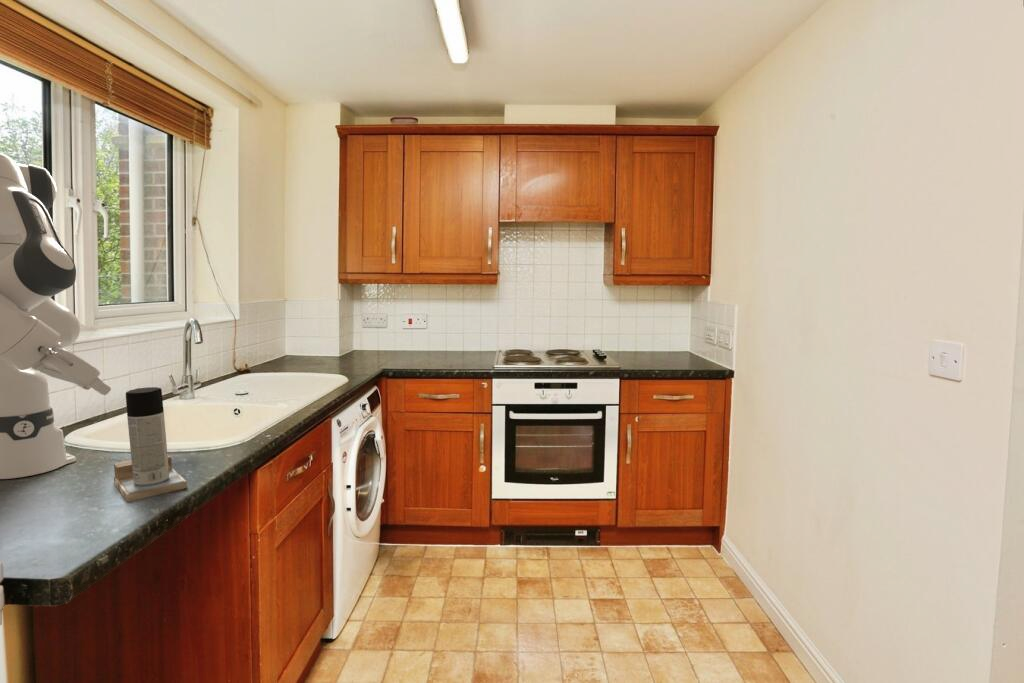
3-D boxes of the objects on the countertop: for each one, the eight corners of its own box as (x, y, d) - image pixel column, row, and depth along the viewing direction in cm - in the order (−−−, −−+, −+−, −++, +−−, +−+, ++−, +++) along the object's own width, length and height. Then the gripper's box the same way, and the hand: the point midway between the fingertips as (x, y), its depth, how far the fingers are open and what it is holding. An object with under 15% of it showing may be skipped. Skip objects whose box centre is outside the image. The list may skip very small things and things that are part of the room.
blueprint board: (114, 483, 131) (112, 463, 131) (169, 471, 139) (168, 452, 138) (127, 501, 120) (125, 480, 120) (187, 487, 128) (185, 467, 127)
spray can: (175, 475, 131) (168, 386, 128) (159, 486, 124) (150, 392, 122) (145, 476, 130) (136, 387, 128) (126, 487, 124) (117, 393, 121)
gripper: (64, 336, 105) (130, 381, 114) (29, 330, 117) (92, 372, 126) (35, 364, 102) (106, 409, 111) (3, 355, 114) (69, 396, 123)
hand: (98, 389), depth 119 cm, fingers open, 8 cm apart
